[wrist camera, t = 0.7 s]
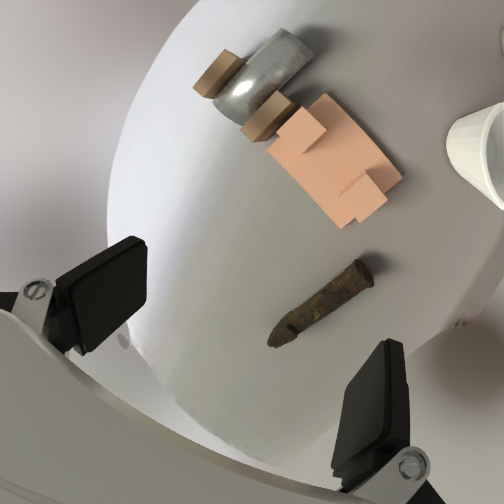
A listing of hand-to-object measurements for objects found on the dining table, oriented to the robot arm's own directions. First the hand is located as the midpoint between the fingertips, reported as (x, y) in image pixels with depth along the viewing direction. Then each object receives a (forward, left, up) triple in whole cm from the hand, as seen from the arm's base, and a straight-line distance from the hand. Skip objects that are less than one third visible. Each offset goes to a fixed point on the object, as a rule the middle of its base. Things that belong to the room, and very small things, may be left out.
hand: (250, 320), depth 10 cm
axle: (-5, -14, -26) cm, 30 cm away
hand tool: (+12, +12, -27) cm, 32 cm away
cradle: (-3, -1, -26) cm, 26 cm away
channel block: (-2, -14, -26) cm, 30 cm away
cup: (-18, +8, -26) cm, 33 cm away
